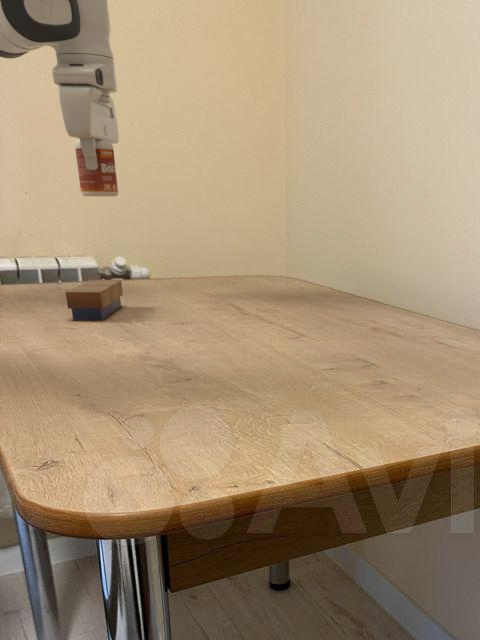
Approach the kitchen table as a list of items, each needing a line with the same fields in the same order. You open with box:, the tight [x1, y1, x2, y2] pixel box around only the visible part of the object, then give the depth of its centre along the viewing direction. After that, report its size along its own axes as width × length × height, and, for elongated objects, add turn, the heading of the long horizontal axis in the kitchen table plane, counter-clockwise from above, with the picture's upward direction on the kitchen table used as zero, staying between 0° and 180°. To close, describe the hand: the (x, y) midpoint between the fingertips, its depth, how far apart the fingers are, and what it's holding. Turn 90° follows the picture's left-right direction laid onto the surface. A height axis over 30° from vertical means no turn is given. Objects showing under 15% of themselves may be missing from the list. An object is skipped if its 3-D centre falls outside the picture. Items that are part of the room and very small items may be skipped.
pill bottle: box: [74, 126, 119, 197], centre depth 121 cm, size 6×6×11 cm
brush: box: [65, 279, 124, 321], centre depth 110 cm, size 13×5×4 cm, turn 4°
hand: (98, 170), depth 121 cm, fingers closed on pill bottle, 6 cm apart
